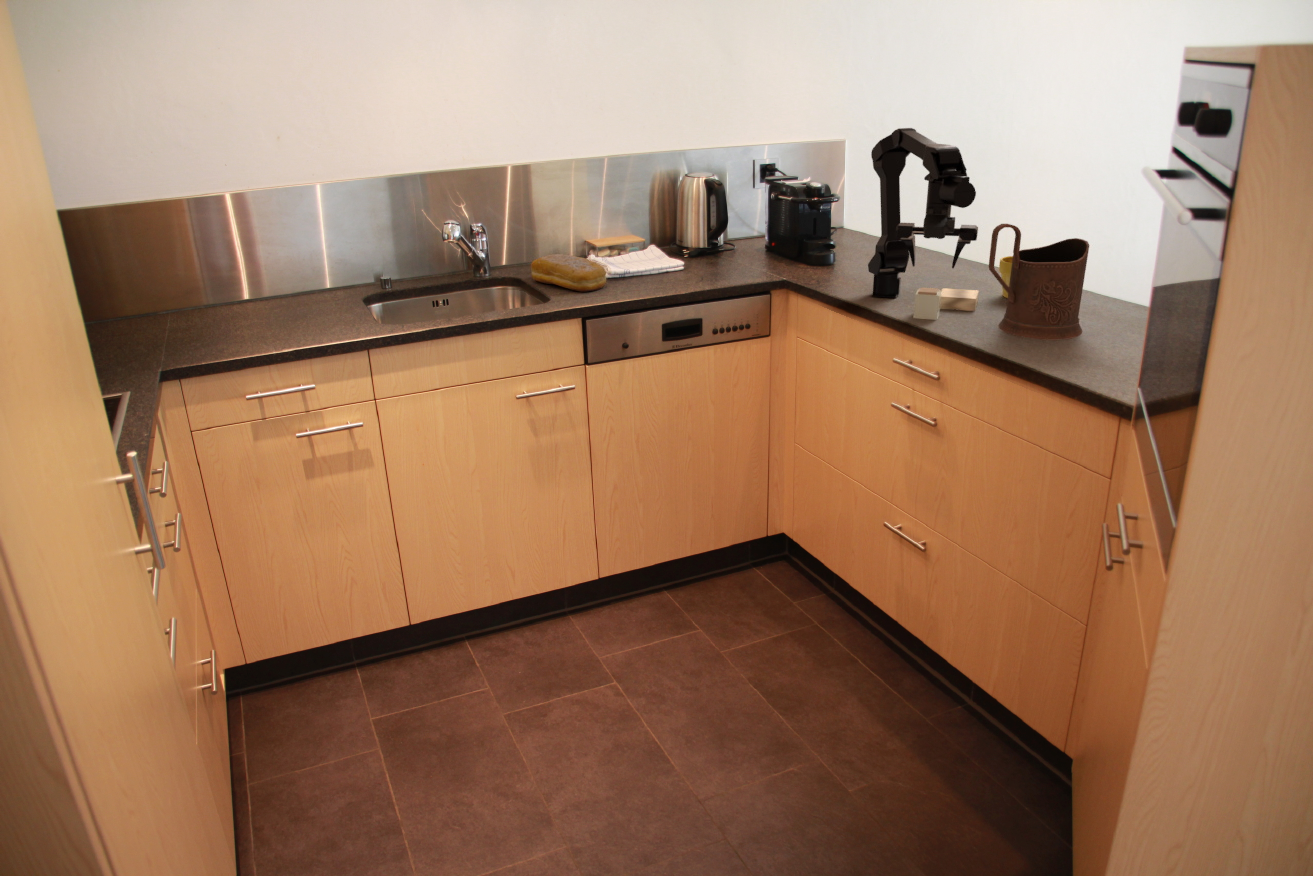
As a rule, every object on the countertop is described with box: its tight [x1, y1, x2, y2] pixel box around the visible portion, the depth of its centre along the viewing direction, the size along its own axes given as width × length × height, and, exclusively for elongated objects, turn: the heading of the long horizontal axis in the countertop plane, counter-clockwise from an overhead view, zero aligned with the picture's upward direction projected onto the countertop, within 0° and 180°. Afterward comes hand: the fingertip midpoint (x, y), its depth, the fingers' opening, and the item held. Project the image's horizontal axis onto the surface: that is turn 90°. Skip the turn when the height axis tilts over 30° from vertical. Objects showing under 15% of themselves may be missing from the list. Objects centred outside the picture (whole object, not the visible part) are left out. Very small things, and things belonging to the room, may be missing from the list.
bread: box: [530, 253, 607, 293], centre depth 270 cm, size 13×26×8 cm, turn 48°
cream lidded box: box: [912, 287, 942, 321], centre depth 229 cm, size 6×6×7 cm
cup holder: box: [988, 223, 1090, 341], centre depth 213 cm, size 18×24×25 cm
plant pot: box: [998, 255, 1013, 299], centre depth 244 cm, size 10×10×10 cm
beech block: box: [940, 287, 980, 312], centre depth 238 cm, size 9×9×4 cm
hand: (933, 267), depth 226 cm, fingers open, 9 cm apart
